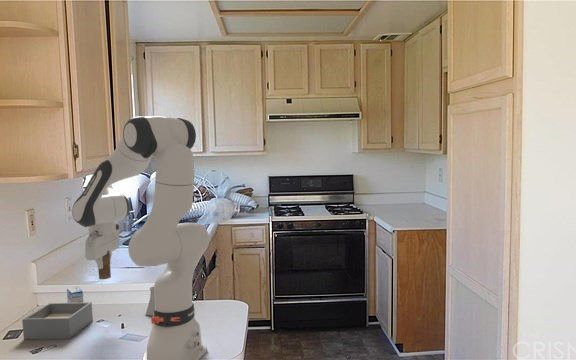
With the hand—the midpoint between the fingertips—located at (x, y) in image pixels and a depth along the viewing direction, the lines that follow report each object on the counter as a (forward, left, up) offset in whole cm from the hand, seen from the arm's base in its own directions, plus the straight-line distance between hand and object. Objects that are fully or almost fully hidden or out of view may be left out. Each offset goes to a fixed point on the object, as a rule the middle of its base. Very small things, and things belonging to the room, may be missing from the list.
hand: (104, 266), depth 165 cm
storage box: (-7, +14, -21) cm, 26 cm away
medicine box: (+12, +18, -21) cm, 30 cm away
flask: (+8, -15, -21) cm, 27 cm away
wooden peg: (0, 0, -4) cm, 4 cm away
